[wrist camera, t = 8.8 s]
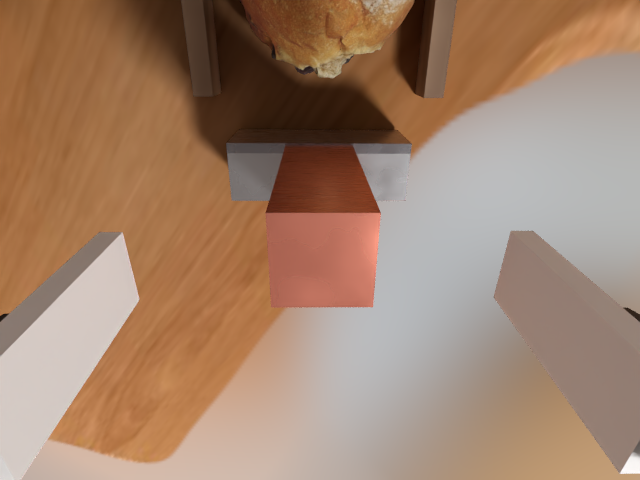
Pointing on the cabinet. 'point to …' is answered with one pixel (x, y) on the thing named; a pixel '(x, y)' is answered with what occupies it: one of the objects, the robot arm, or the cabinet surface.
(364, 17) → the bread roll
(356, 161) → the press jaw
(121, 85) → the cabinet surface
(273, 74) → the cabinet surface
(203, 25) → the frame
